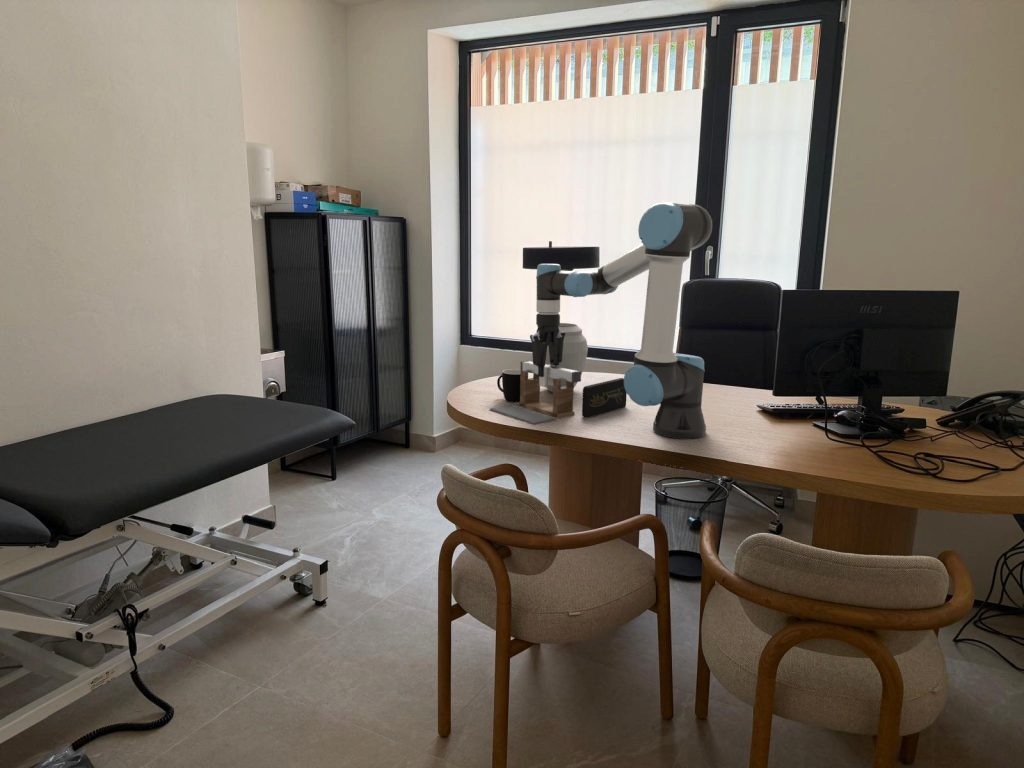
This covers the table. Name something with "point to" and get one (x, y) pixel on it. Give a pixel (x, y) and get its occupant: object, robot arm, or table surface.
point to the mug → (510, 384)
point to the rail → (553, 371)
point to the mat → (523, 414)
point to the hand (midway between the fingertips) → (547, 385)
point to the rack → (532, 401)
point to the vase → (571, 351)
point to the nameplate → (603, 397)
